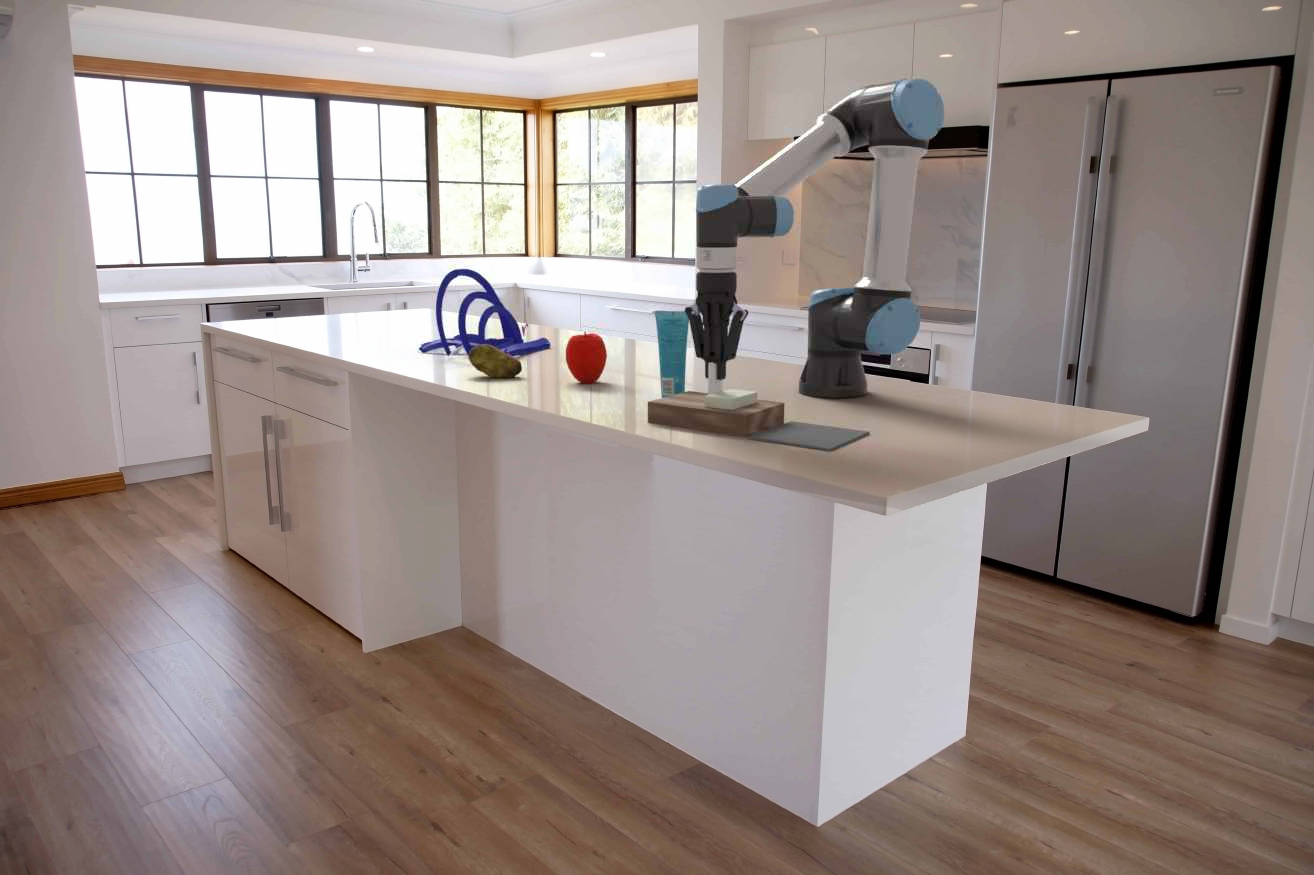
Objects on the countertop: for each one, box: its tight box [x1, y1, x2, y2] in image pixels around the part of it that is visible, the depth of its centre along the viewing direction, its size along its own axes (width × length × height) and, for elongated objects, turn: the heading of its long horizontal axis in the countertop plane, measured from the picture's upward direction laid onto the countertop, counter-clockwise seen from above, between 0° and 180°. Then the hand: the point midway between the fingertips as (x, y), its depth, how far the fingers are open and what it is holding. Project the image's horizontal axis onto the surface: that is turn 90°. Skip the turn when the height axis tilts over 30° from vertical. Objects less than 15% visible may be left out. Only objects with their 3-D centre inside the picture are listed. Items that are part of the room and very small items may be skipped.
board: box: [647, 390, 786, 438], centre depth 184 cm, size 14×22×4 cm, turn 54°
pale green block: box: [705, 388, 758, 410], centre depth 181 cm, size 9×6×2 cm, turn 143°
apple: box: [565, 331, 608, 384], centre depth 228 cm, size 10×10×12 cm
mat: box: [747, 420, 871, 452], centre depth 173 cm, size 16×16×1 cm
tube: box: [654, 310, 690, 398], centre depth 204 cm, size 7×5×19 cm, turn 90°
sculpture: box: [418, 268, 551, 357], centre depth 282 cm, size 35×34×26 cm
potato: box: [468, 344, 523, 379], centre depth 237 cm, size 8×13×8 cm, turn 58°
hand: (715, 396), depth 183 cm, fingers closed
